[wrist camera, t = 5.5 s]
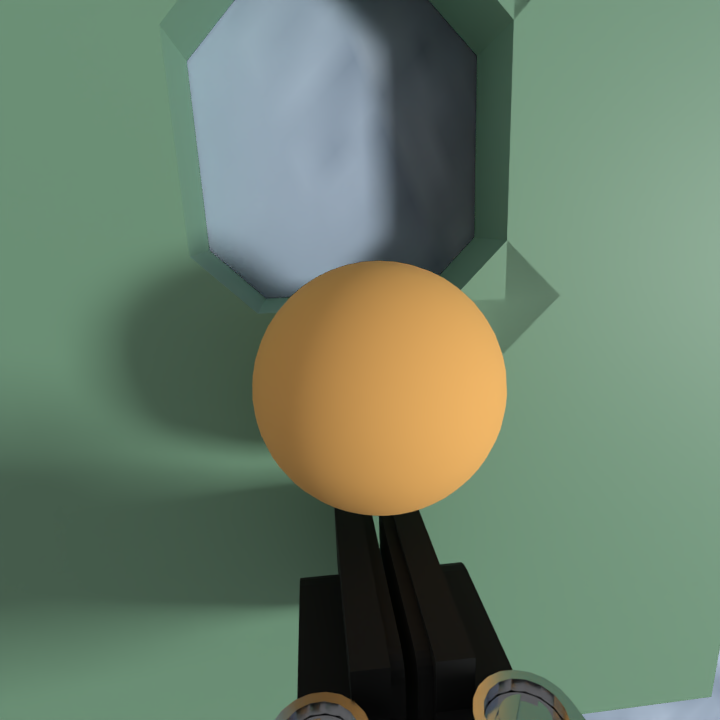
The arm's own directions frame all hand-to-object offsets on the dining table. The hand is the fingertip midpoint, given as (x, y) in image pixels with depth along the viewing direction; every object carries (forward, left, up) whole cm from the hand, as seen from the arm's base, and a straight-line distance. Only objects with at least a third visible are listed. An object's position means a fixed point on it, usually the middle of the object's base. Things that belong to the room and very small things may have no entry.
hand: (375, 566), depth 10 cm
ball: (+4, 0, +1) cm, 4 cm away
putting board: (+4, 0, -3) cm, 5 cm away
